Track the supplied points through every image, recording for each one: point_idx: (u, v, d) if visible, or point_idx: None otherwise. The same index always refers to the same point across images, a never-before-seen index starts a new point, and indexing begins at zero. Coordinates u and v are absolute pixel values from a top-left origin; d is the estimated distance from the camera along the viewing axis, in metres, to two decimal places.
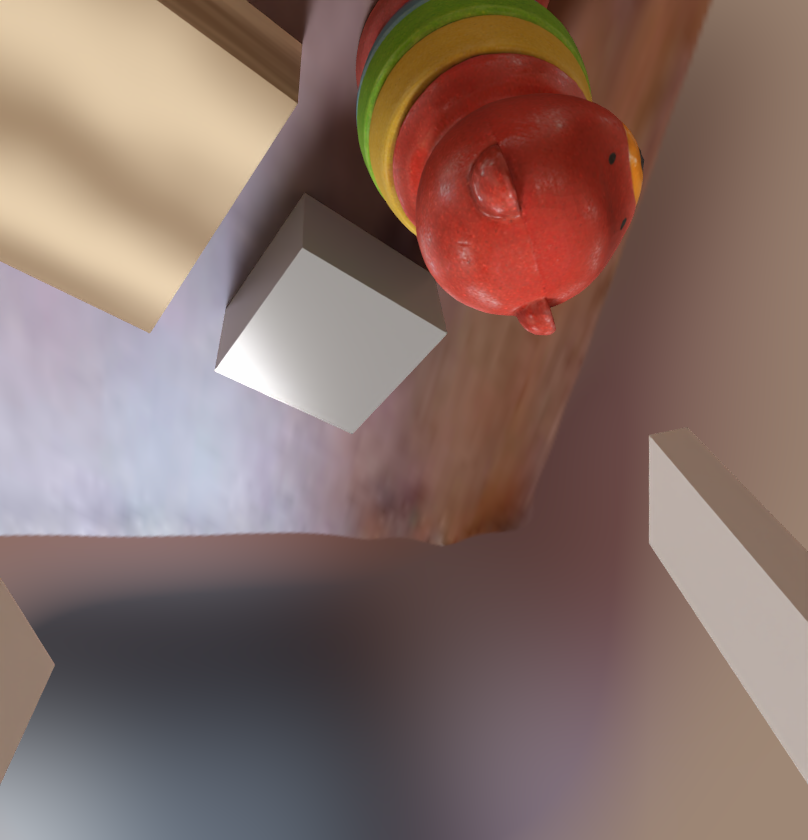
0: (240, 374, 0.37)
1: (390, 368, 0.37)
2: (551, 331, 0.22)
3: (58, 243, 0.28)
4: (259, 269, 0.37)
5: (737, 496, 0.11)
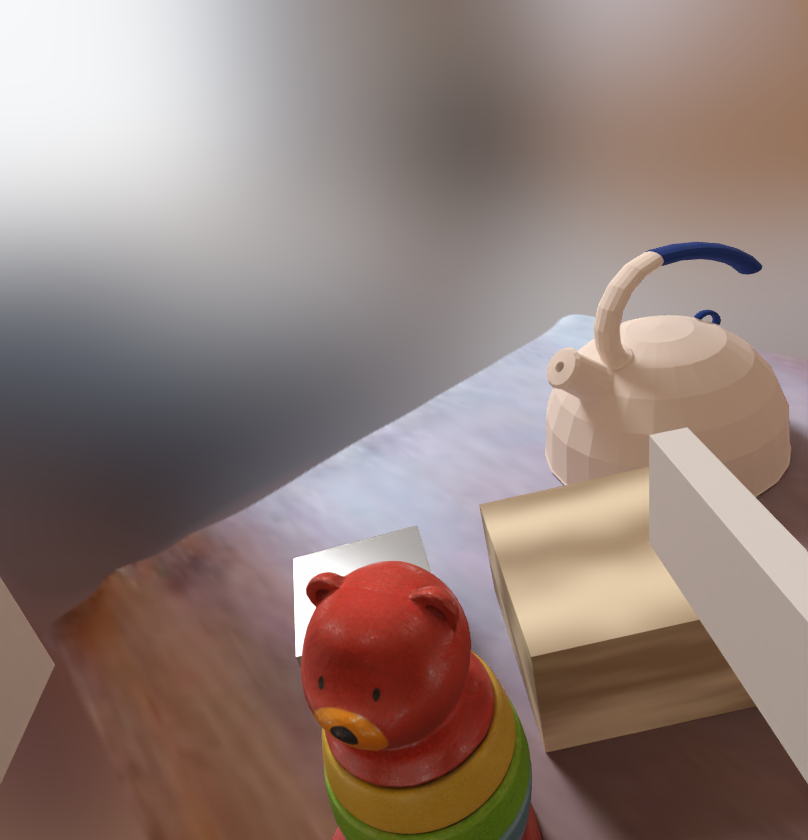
0: (400, 534, 0.47)
1: (312, 608, 0.42)
2: (313, 578, 0.27)
3: (562, 507, 0.43)
4: None
5: (737, 496, 0.11)
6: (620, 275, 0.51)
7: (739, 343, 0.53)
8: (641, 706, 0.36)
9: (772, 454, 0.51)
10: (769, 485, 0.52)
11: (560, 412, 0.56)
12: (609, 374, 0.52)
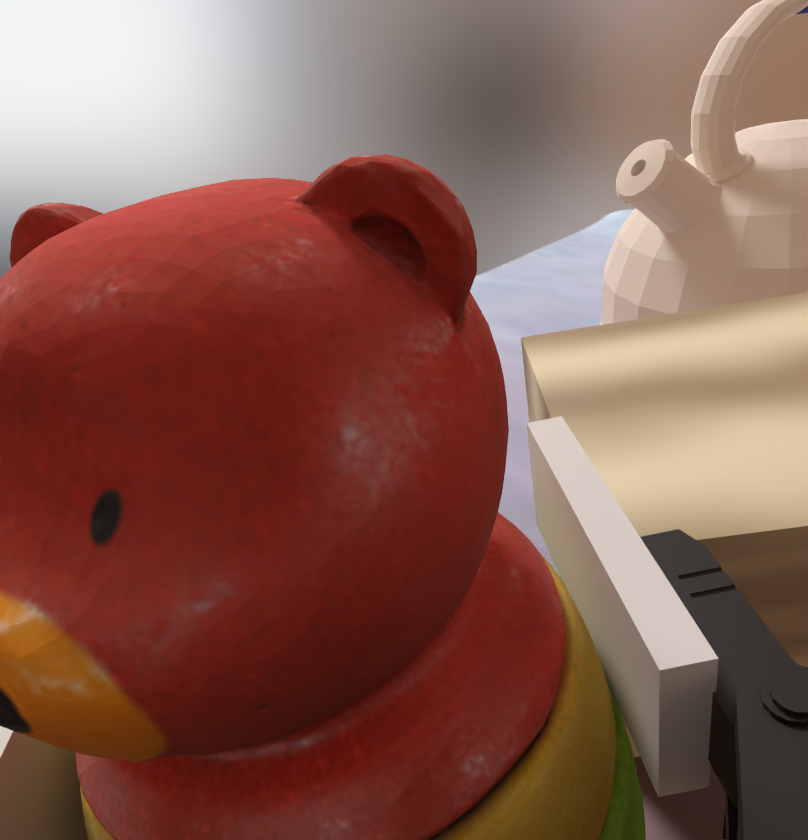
0: None
1: None
2: None
3: (667, 338, 0.24)
4: None
5: (586, 476, 0.12)
6: (741, 21, 0.32)
7: None
8: None
9: None
10: None
11: (629, 260, 0.38)
12: (714, 185, 0.34)
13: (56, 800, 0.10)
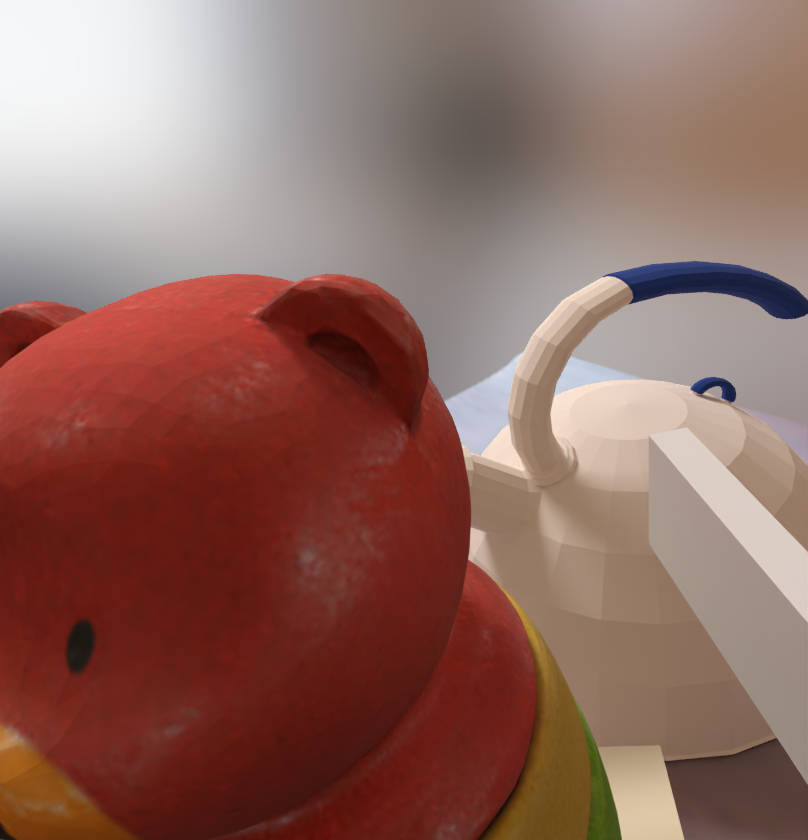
0: None
1: None
2: None
3: None
4: None
5: (736, 496, 0.11)
6: (553, 319, 0.28)
7: (768, 443, 0.30)
8: None
9: None
10: None
11: None
12: (532, 492, 0.29)
13: None
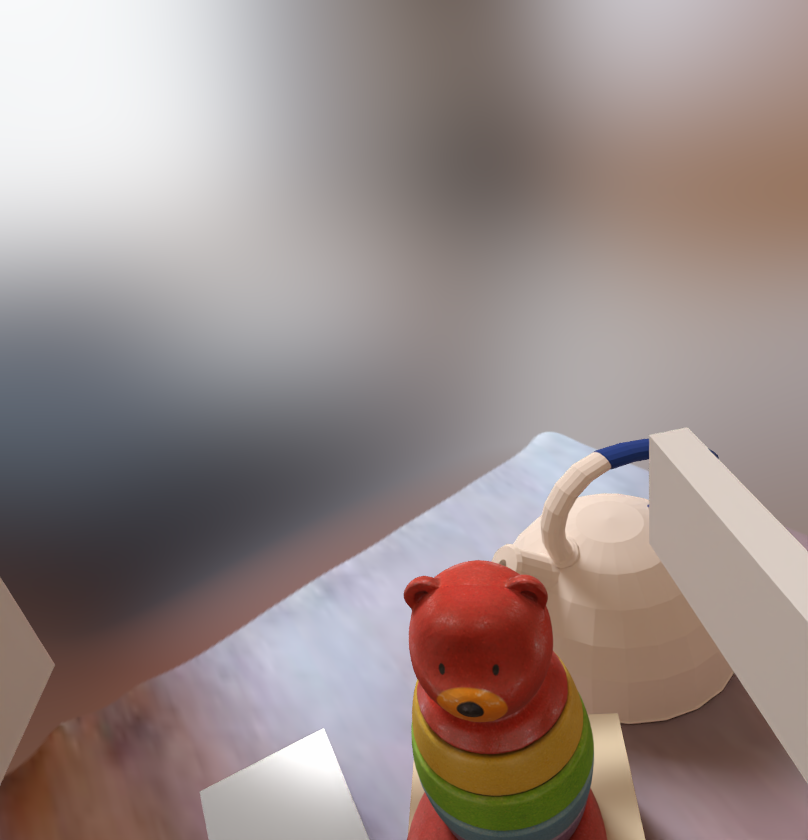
0: (308, 742, 0.47)
1: None
2: (412, 583, 0.31)
3: None
4: None
5: (737, 496, 0.11)
6: (566, 477, 0.50)
7: None
8: None
9: (716, 666, 0.50)
10: (713, 694, 0.51)
11: None
12: (554, 572, 0.51)
13: None
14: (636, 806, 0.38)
